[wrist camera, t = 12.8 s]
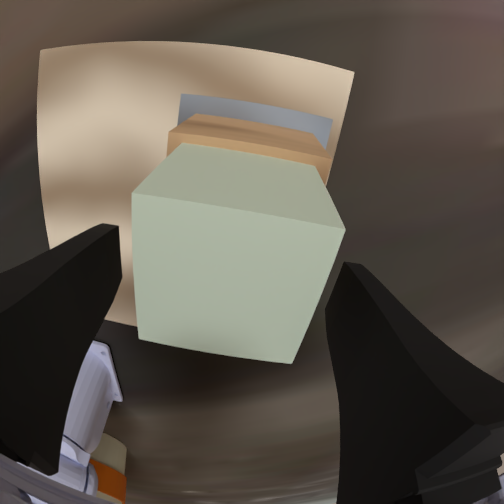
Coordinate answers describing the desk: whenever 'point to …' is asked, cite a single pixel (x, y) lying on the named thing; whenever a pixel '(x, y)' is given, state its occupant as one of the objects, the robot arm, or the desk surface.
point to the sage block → (231, 252)
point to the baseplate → (157, 122)
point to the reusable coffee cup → (110, 469)
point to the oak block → (251, 140)
